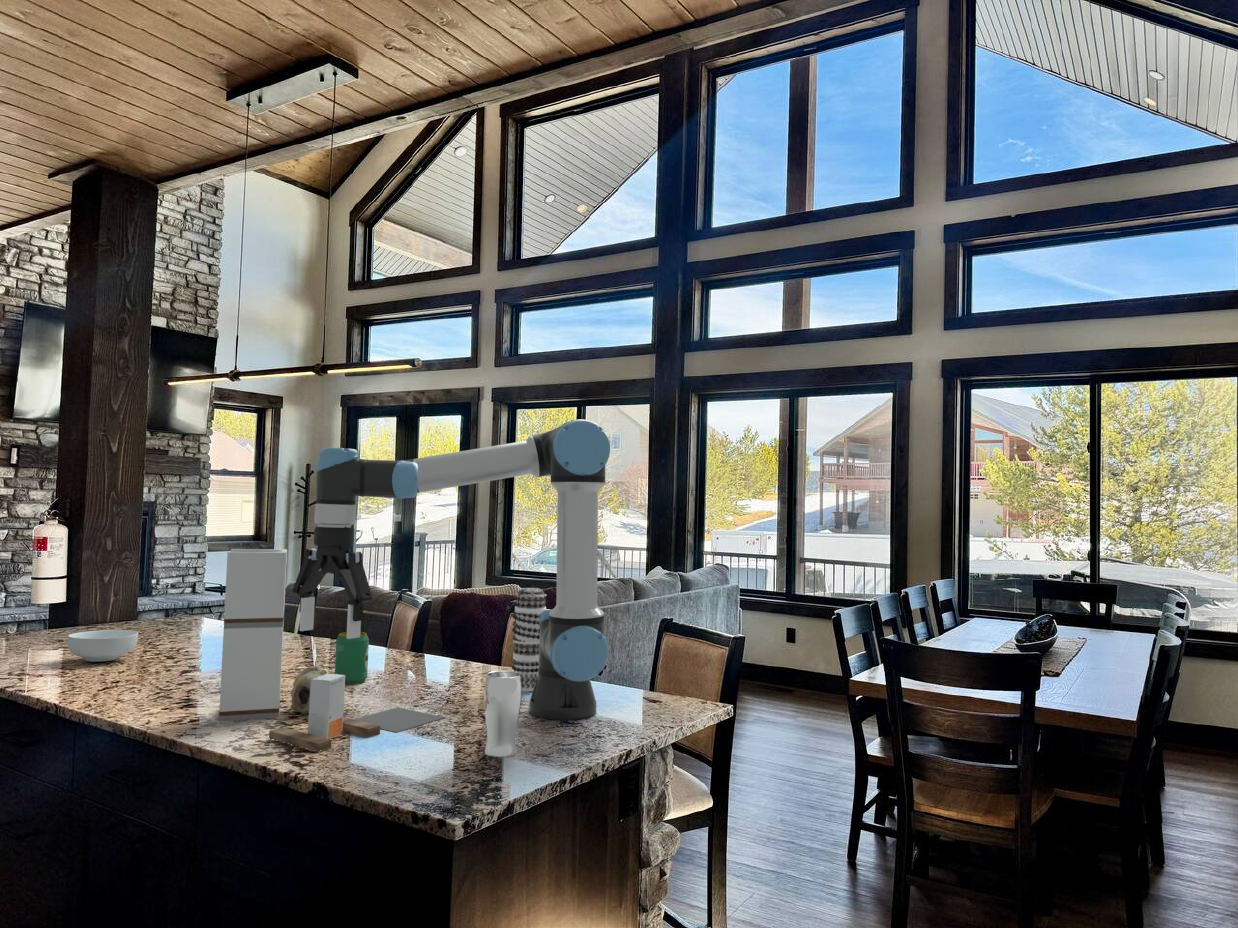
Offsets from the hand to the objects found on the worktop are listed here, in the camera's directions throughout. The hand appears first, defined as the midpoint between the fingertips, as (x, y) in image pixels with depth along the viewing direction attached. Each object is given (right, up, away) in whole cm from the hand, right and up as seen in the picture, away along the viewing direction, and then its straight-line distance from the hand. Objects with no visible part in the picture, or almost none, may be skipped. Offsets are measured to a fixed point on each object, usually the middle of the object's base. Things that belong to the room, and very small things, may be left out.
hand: (329, 634), depth 162 cm
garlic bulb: (-10, -21, +18) cm, 29 cm away
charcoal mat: (+10, -21, +13) cm, 27 cm away
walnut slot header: (0, -20, -1) cm, 20 cm away
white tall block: (-22, -21, +15) cm, 34 cm away
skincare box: (0, -20, -1) cm, 21 cm away
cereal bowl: (-87, -21, +67) cm, 112 cm away
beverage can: (-12, -22, +49) cm, 55 cm away
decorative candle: (+34, -24, +47) cm, 63 cm away
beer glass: (+35, -21, -8) cm, 42 cm away
